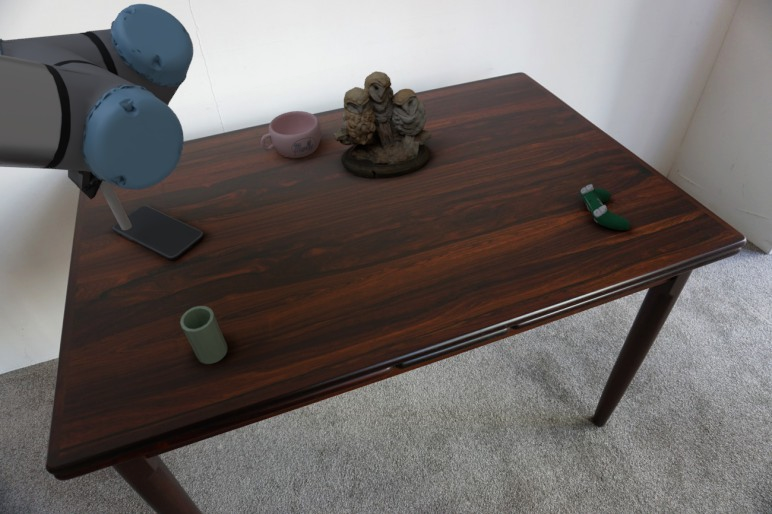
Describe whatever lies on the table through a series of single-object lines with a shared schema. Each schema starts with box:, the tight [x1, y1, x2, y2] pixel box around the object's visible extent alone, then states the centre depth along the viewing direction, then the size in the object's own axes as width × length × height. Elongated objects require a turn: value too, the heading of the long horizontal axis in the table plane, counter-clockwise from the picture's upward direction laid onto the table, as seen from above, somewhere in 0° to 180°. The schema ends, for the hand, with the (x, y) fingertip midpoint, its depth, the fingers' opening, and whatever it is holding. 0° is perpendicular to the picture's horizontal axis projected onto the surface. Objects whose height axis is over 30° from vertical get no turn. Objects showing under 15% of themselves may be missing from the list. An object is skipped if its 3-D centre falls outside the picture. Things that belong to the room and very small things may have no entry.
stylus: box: [99, 181, 132, 230], centre depth 78 cm, size 2×2×14 cm
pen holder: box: [179, 305, 228, 365], centre depth 67 cm, size 4×4×7 cm
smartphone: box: [112, 204, 205, 261], centre depth 86 cm, size 7×1×15 cm
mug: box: [260, 110, 322, 159], centre depth 101 cm, size 12×10×6 cm
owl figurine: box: [332, 71, 433, 179], centre depth 94 cm, size 18×12×17 cm, turn 103°
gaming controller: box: [579, 183, 631, 231], centre depth 85 cm, size 9×4×6 cm
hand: (92, 187), depth 80 cm, fingers closed on stylus, 1 cm apart
